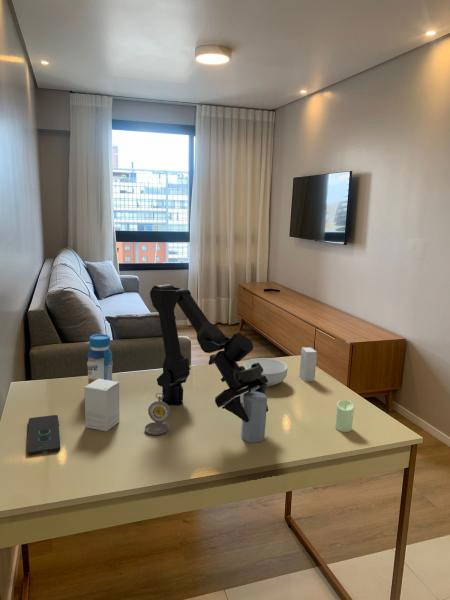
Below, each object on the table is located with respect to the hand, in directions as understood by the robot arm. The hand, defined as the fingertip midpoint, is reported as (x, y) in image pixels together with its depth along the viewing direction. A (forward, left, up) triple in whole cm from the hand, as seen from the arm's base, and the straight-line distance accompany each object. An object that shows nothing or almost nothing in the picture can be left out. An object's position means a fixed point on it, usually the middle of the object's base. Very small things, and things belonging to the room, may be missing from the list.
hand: (257, 416), depth 128 cm
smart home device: (-59, +6, -7) cm, 60 cm away
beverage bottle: (-47, +36, -7) cm, 59 cm away
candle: (+28, +4, -7) cm, 29 cm away
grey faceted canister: (-1, +1, -7) cm, 7 cm away
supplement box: (-44, +12, -7) cm, 46 cm away
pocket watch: (-28, +8, -7) cm, 30 cm away
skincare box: (+31, +45, -7) cm, 55 cm away
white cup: (+1, +27, -7) cm, 28 cm away
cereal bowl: (+13, +42, -7) cm, 45 cm away
